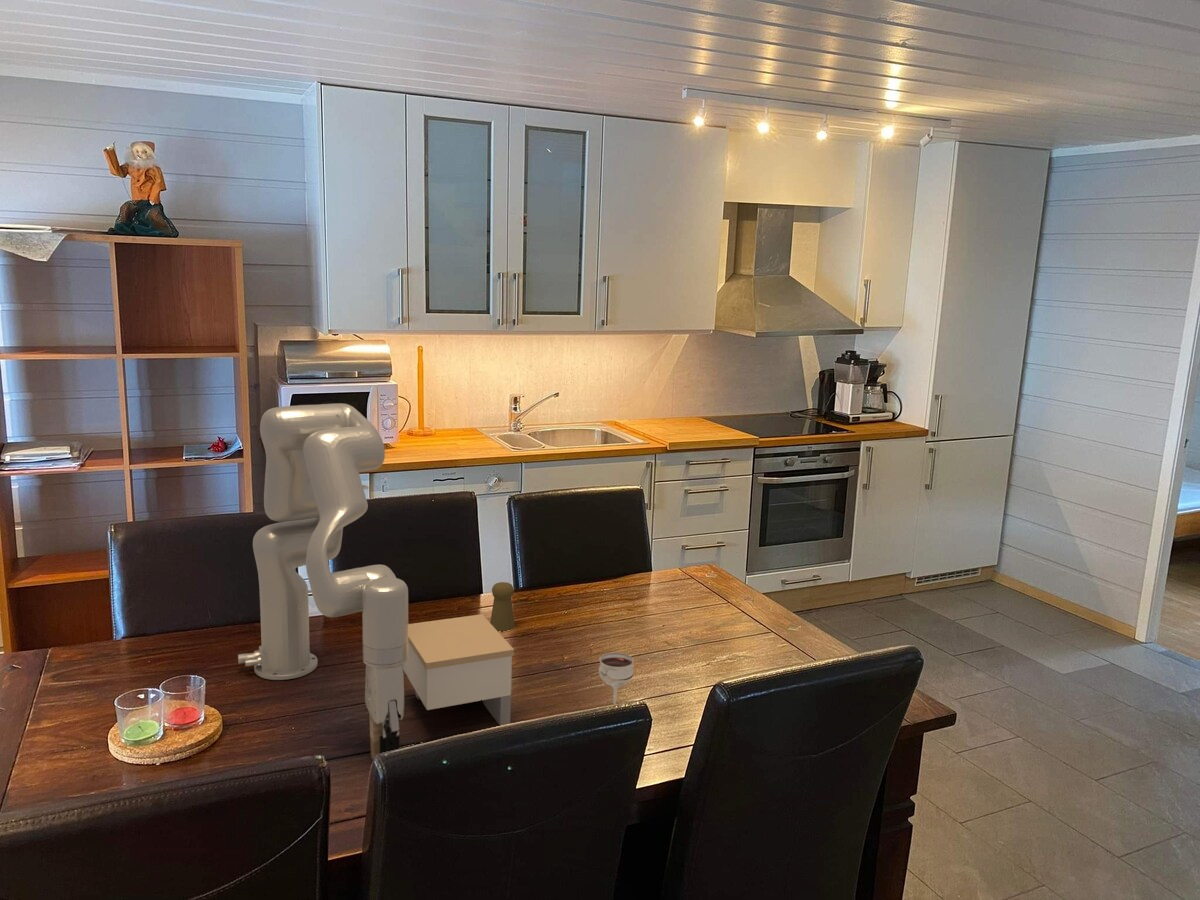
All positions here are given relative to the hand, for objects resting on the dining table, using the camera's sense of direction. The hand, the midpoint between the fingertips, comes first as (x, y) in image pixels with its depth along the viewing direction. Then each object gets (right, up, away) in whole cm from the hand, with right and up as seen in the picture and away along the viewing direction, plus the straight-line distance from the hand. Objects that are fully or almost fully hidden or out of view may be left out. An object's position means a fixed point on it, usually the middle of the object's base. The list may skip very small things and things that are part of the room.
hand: (386, 748), depth 152 cm
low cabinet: (+9, +1, +18) cm, 20 cm away
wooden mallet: (+6, -1, +3) cm, 7 cm away
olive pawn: (+14, +9, +59) cm, 62 cm away
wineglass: (+40, 0, +18) cm, 44 cm away
